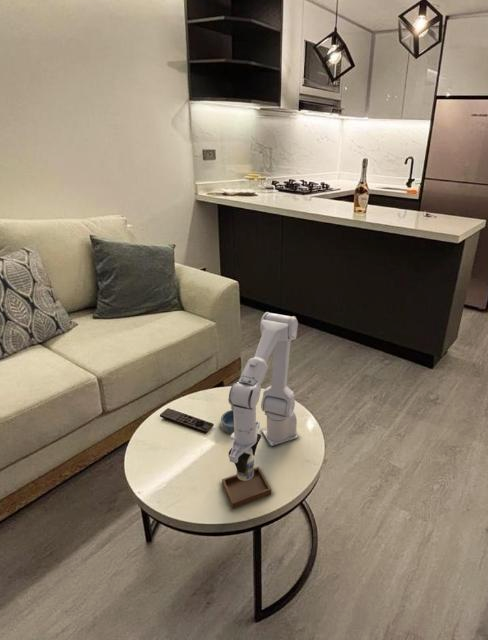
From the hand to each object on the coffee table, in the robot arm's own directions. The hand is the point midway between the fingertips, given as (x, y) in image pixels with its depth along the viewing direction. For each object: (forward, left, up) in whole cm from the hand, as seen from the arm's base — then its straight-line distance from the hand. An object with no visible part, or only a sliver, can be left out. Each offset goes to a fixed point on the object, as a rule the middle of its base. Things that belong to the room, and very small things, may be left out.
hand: (245, 464), depth 111 cm
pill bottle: (0, 0, -4) cm, 4 cm away
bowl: (-6, -27, -9) cm, 29 cm away
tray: (0, 0, -9) cm, 9 cm away
